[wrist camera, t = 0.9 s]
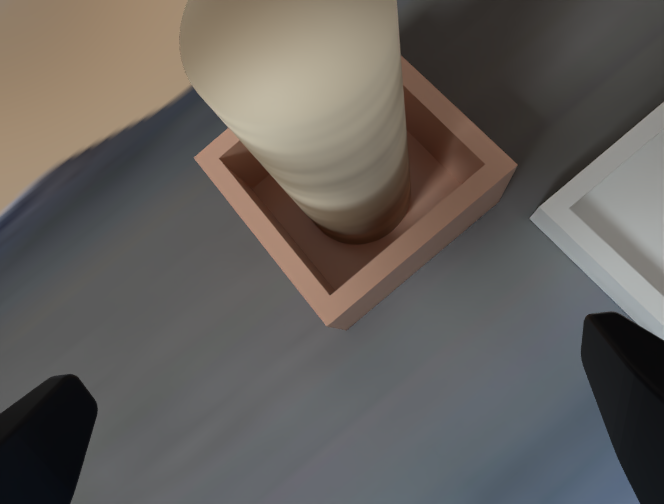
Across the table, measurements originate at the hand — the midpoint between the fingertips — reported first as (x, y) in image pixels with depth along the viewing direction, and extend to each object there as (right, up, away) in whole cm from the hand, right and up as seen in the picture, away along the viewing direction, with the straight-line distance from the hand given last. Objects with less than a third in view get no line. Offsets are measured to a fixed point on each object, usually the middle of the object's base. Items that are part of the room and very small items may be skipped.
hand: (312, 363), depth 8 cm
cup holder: (+2, +5, +14) cm, 15 cm away
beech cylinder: (+2, +5, +14) cm, 15 cm away
